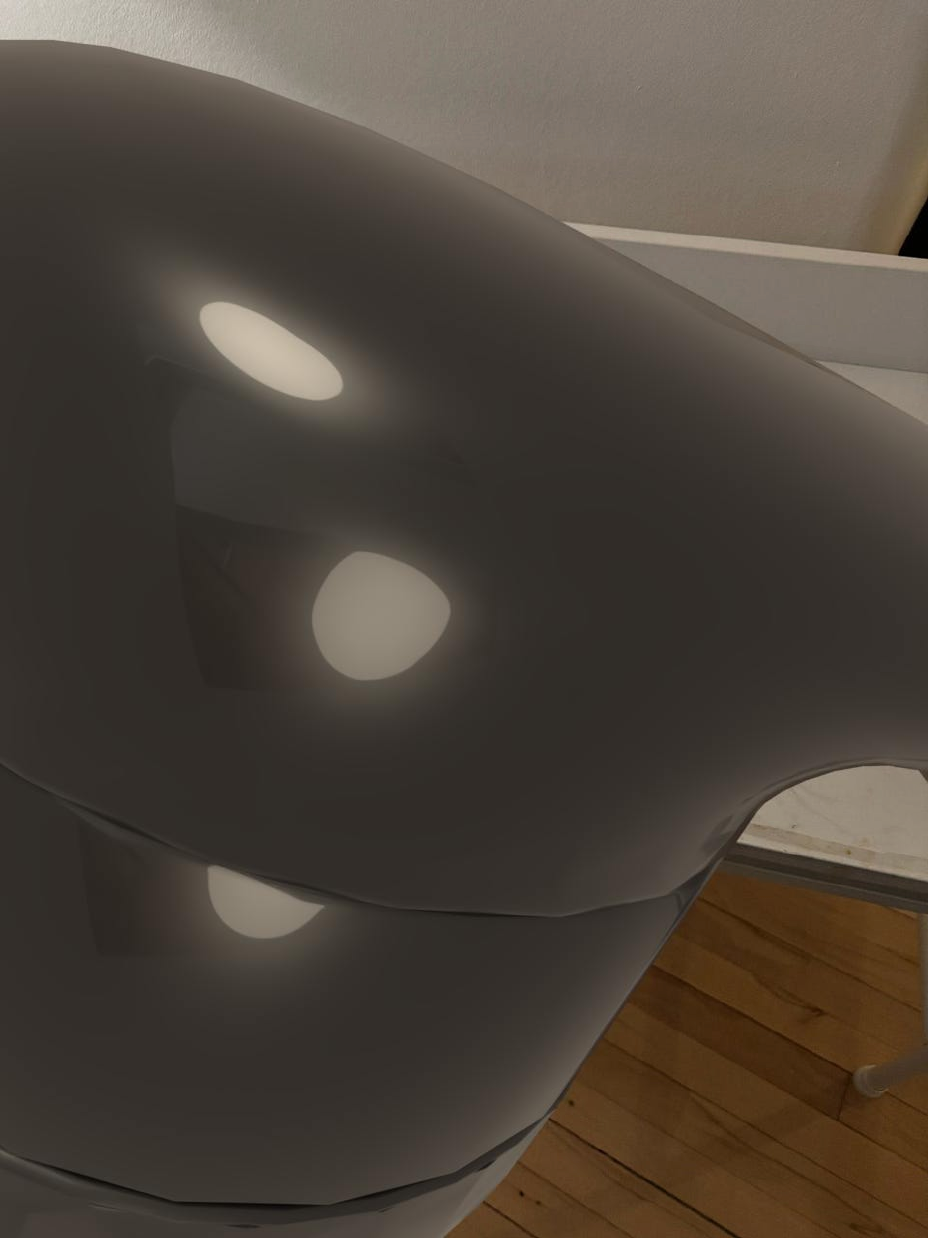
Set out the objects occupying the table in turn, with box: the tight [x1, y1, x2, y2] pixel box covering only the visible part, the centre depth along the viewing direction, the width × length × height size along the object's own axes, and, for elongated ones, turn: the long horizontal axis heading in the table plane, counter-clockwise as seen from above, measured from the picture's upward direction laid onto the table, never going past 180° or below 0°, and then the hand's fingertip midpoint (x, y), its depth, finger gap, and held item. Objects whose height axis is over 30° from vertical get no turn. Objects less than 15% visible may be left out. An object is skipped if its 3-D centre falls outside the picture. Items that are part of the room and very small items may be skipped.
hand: (693, 488), depth 70 cm, fingers closed
